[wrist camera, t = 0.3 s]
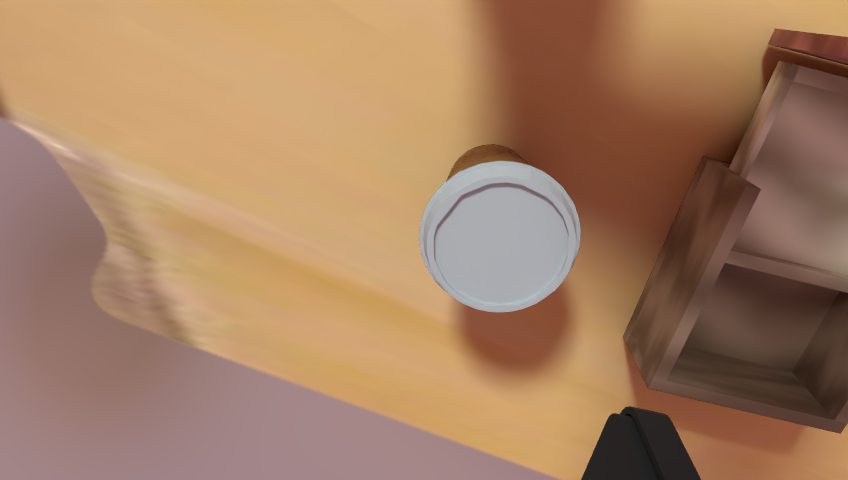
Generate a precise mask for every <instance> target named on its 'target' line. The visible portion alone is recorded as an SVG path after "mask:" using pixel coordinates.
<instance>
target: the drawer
mask: <svg viewBox="0 0 848 480" xmlns="http://www.w3.org/2000/svg"><path fill="white" fill-rule="evenodd" d="M768 44H769V45H773V46H777V47H780V48H784V49H788V50H792V51H795V52H799V53H803V54H807V55H810V56H814V57H818V58H822V59H825V60H829V61H833V62H837V63H840V64H844V65H848V37H841V36H833V35H824V34H816V33H807V32H799V31H790V30H782V29H775V30H774V32H773V35H772V37H771V39H770V41H769V43H768ZM729 169H731V170H732V171H734V172H735V173H737V174H738V175H740V176H741V177H743V178H744V179H746V180H748V181H749V182H751V183H752V184H754V185H755V186H757V187H758V188H760V189H761V191H760V193H759V195H758V197H757V199H756V201H755V203H754V205H753V207H752V209H751V211H750V213H749V215H748V217H747V219H746V221H745V223H744V225H743V227H742V229H741V231H740V233H739V235H738V237H737V239H736V241H735V243H734V245H733V247H732V249H731V251H730V253H729V255H728V257H727V259H726V261H725V263H729V264H733V265H737V266H741V267H745V268H749V269H753V270H757V271H761V272H765V273H769V274H773V275H777V276H781V277H785V278H789V279H793V280H797V281H801V282H806V283H810V284H814V285H818V286H822V287H826V288H830V289H834V290H838V291H842V292H846V293H848V78H845V77H841V76H838V75H834V74H830V73H826V72H823V71H819V70H815V69H811V68H807V67H804V66H800V65H796V64H792V63H788V62H783V61H779V62H778V64H777V66H776V68H775V70H774V72H773V74H772V77H771V79H770V81H769V83H768V85H767V87H766V89H765V92H764V94H763V96H762V98H761V100H760V102H759V105H758V107H757V109H756V111H755V113H754V115H753V117H752V120H751V122H750V124H749V126H748V128H747V130H746V133H745V135H744V137H743V139H742V141H741V143H740V145H739V148H738V150H737V152H736V154H735V156H734V158H733V160H732V163H731V165H730V167H729Z"/></svg>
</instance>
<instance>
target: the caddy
mask: <svg viewBox="0 0 848 480" xmlns="http://www.w3.org/2000/svg"><path fill="white" fill-rule="evenodd" d="M730 165H731V164H730V163H726V162H722V161H718V160H714V159H710V158H706V157H702V160H701V162H700V164H699V166H698V169H697V171H696V173H695V175H694V178H693V180H692V182H691V185H690V187H689V189H688V191H687V194H686V196H685V198H684V200H683V203H682V205H681V207H680V209H679V212H678V214H677V216H676V218H675V221H674V223H673V225H672V227H671V230H670V232H669V234H668V236H667V239H666V241H665V243H664V245H663V248H662V250H661V252H660V254H659V257H658V259H657V261H656V264H655V266H654V268H653V270H652V273H651V275H650V277H649V279H648V282H647V284H646V286H645V288H644V291H643V293H642V295H641V297H640V300H639V302H638V304H637V306H636V309H635V311H634V313H633V315H632V318H631V320H630V322H629V324H628V327H627V329H626V331H625V333H624V336H623V338H624V340H625V342H626V344H627V346H628V348H629V350H630V352H631V354H632V356H633V358H634V360H635V363H636V365H637V367H638V369H639V371H640V373H641V375H642V377H643V379H644V381H645V383H646V385H647V387H648V389H652V390H657V391H661V392H665V393H669V394H674V395H678V396H682V397H686V398H691V399H695V400H699V401H704V402H708V403H712V404H716V405H721V406H725V407H729V408H733V409H738V410H742V411H746V412H750V413H755V414H759V415H763V416H767V417H772V418H776V419H780V420H784V421H789V422H793V423H797V424H801V425H806V426H810V427H814V428H819V429H823V430H827V431H831V432H836V433H840V434H841V432H842V431H843V429H844V428H845V426H846V425H847V423H848V293H846V292H842V291H838V290H834V289H830V288H826V287H822V286H818V285H814V284H810V283H806V282H801V281H797V280H793V279H789V278H785V277H781V276H777V275H773V274H769V273H765V272H761V271H757V270H753V269H749V268H745V267H741V266H737V265H733V264H729V263H725V261H726V259H727V257H728V255H729V253H730V251H731V249H732V247H733V245H734V243H735V241H736V239H737V237H738V235H739V233H740V231H741V229H742V227H743V225H744V223H745V221H746V219H747V217H748V215H749V213H750V211H751V209H752V207H753V205H754V203H755V201H756V199H757V197H758V195H759V193H760V191H761V189H760V188H758V187H757V186H755V185H754V184H752V183H751V182H749V181H748V180H746V179H744V178H743V177H741V176H740V175H738V174H737V173H735V172H734V171H732V170H731V169H729V167H730Z"/></svg>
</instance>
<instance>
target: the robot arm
mask: <svg viewBox="0 0 848 480" xmlns="http://www.w3.org/2000/svg"><path fill="white" fill-rule="evenodd" d="M581 480H701V479H700V477H699V475H698V473H697V471H696V469H695V467H694V465H693V463H692V461H691V459H690V457H689V455H688V453H687V451H686V449H685V447H684V445H683V443H682V441H681V439H680V437H679V435H678V433H677V431H676V429H675V427H674V425H673V423H672V421H671V420H670V418H669V417H668V416H667V415H665V414H662V413H658V412H653V411H649V410H644V409H639V408H635V407H630V406H629V407H625V408H624V409H623V410H622V412H621V413H620V414H616V413H614V414H611V415H610V416H609V418H608V420H607V422H606V424H605V426H604V428H603V431H602V433H601V435H600V438H599V440H598V442H597V445H596V447H595V449H594V451H593V454H592V456H591V458H590V461H589V463H588V465H587V468H586V470H585V472H584V475H583V477H582V479H581Z"/></svg>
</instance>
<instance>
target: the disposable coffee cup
mask: <svg viewBox="0 0 848 480" xmlns="http://www.w3.org/2000/svg"><path fill="white" fill-rule="evenodd" d="M580 232H581V229H580V223H579V217H578V214H577V211H576V208H575V205H574V203H573V201H572V200H571V198H570V197H569V195H568V194H567V192H566V191H565V189H564V188H563V187H562V186H561V185H560V184H559V183H558V182H557V181H556V180H555V179H553V178H552V177H551V176H549V175H548V174H546V173H545V172H543V171H542V170H539V169H537V168H534V167H532V166H530V165H529V164H528V163H527V162H526V161H525V160H523V159H522V158H521V157H520V156H519V155H518V154H517V153H516V152H514V151H513V150H511V149H509V148H507V147H503V146H500V145H494V144H491V145H482V146H478V147H475V148H473V149H471V150H469V151H467V152H466V153H465V154H464V155H462V156H461V157H460V158H459V159H458V160H457V162H456V163H455V164H454V166H453V168H452V170H451V172H450V174H449V176H448V178H447V180H446V182H445V183H444V184H443V185H442V186H441V187H440V188H439V189H438V190H437V191H436V193H435V194H434V195H433V197H432V198H431V200H430V201H429V203H428V205H427V206H426V209H425V212H424V214H423V217H422V221H421V226H420V237H419V241H420V248H421V254H422V257H423V260H424V263H425V266H426V268H427V269H428V271H429V273H430V274H431V276H432V277H433V279H434V280H435V281H436V282H437V283H438V285H439V286H440V287H441V288H442V289H443V290H444V291H446V292H447V293H448V294H449V295H451V296H452V297H453V298H455V299H456V300H457V301H459V302H461V303H462V304H464V305H467V306H469V307H472V308H474V309H477V310H482V311H487V312H499V313H500V312H512V311H516V310H521V309H524V308H527V307H529V306H532V305H534V304H537V303H538V302H540V301H541V300H543V299H544V298H546V297H547V296H549V295H550V294H551V293H552V292H554V291H555V290H556V289H557V288H558V286H559V285H560V284H561V283H562V282H563V280H564V279H565V277H566V276H567V274H568V273H569V271H570V269H571V268H572V265H573V263H574V261H575V259H576V256H577V254H578V249H579V245H580Z"/></svg>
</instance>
